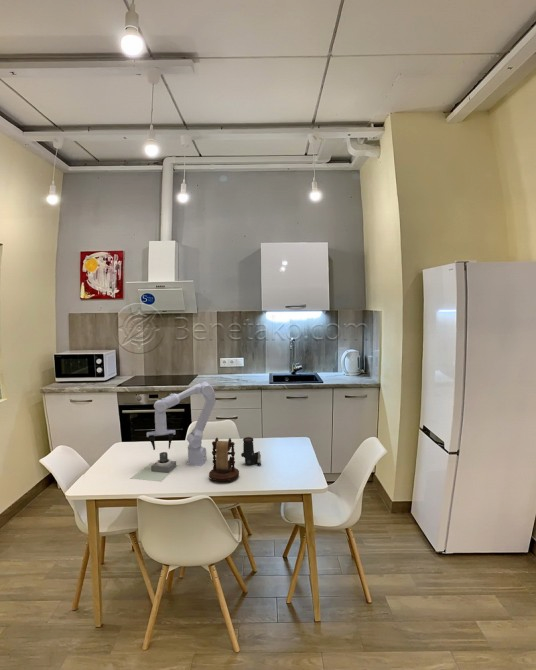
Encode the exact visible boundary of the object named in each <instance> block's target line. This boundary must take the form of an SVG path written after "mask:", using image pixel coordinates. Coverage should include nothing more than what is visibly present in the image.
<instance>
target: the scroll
mask: <svg viewBox="0 0 536 670" xmlns="http://www.w3.org/2000/svg"><path fill="white" fill-rule="evenodd" d="M211 445H212V452H211V454H212V456H213V457H212V465H213V467H212V469H211V470H210V471H209V473H208V478H210V480H211V482H213V481H217V482H218V481H219V482H226V481H229V482H230V483H232V481H233V480H234V479H236V478H238V477H239V475H240V470H239V469H238V468H236V467H235V465H236V461H235V459H236V458H235V454H236V451H235V442H234V441H232V438H231V437H230V438H228V440H219V437H216V438H215V440H214V441H212V443H211ZM230 455H231V456H230Z"/></svg>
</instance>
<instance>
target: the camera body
mask: <svg viewBox="0 0 536 670" xmlns="http://www.w3.org/2000/svg"><path fill="white" fill-rule="evenodd" d="M153 463H154V464H153V465H152V466H151V471H152V472H163V473H170V472H171V471H172V470H173V469H175V468H176V465H177V461H175V460H171V459H170V458H168V462H167V463H160V459H159V460H156V462H153ZM175 470H176V469H175Z"/></svg>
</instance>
